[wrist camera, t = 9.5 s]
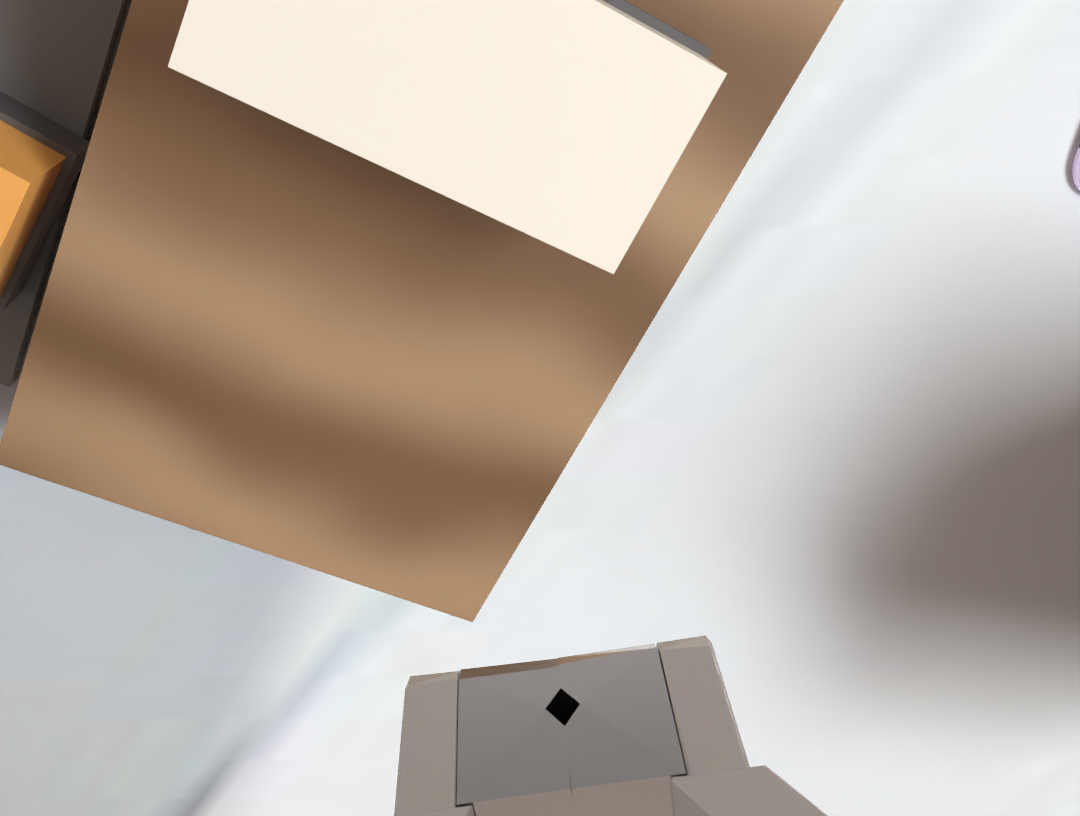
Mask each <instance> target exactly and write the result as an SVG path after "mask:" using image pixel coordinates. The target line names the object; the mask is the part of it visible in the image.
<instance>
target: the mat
mask: <svg viewBox="0 0 1080 816" xmlns="http://www.w3.org/2000/svg"><path fill="white" fill-rule="evenodd" d="M126 1H127V0H0V91H1V92H3V93H5V94H7V95H8V96H10V97H12V98H14V99H15V100H17V101H19V102H21V103H22V104H24V105H26V106H28V107H29V108H31V109H33V110H35V111H36V112H38V113H40V114H42V115H43V116H45V117H47V118H49V119H50V120H52V121H54V122H56V123H57V124H59V125H61V126H63V127H64V128H66V129H68V130H70V131H71V132H73V133H75V134H77V135H78V136H80V137H82V138H84V139H85V140H86V137H87V134H88V130H89V127H90V123H91V120H92V117H93V113H94V110H95V107H96V103H97V100H98V96H99V93H100V90H101V86H102V83H103V79H104V76H105V73H106V69H107V66H108V62H109V59H110V56H111V52H112V49H113V45H114V42H115V39H116V35H117V32H118V29H119V25H120V22H121V18H122V15H123V12H124V8H125V5H126ZM70 191H71V190H70ZM69 195H70V192H69V194H68V196H67V198H66V200H65V202H64V204H63V206H62V209H61V211H60V213H59V215H58V217H57V219H56V221H55V223H54V225H53V227H52V229H51V232H50V234H49V236H48V238H47V240H46V242H45V244H44V246H43V248H42V250H41V252H40V254H39V257H38V259H37V261H36V263H35V265H34V267H33V269H32V271H31V273H30V275H29V277H28V279H27V282H26V284H25V286H24V288H23V290H22V292H21V293H20V294H19V295H18V296H17V297H16V298H15V299H14V300H13V301H12V302H11V303H10V304H9V305H8V306H7V307H6V308H5V309H2V308H0V384H3V385H5V386H8V387H10V385H11V384H12V383H13V382H14V381H15V378H16V374H17V371H18V368H19V364H20V361H21V357H22V354H23V351H24V347H25V344H26V340H27V337H28V334H29V330H30V327H31V324H32V320H33V317H34V313H35V310H36V307H37V303H38V300H39V296H40V293H41V290H42V286H43V283H44V279H45V276H46V273H47V269H48V266H49V262H50V259H51V256H52V252H53V249H54V246H55V242H56V239H57V235H58V232H59V229H60V225H61V222H62V218H63V215H64V212H65V208H66V205H67V201H68V198H69Z"/></svg>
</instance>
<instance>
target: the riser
mask: <svg viewBox="0 0 1080 816" xmlns="http://www.w3.org/2000/svg"><path fill="white" fill-rule="evenodd" d="M626 1H628V2H629V3H631V4H633V5H635V6H636V7H638V8H640V9H642V10H644V11H645V12H647V13H649V14H651V15H653V16H654V17H656V18H658V19H660V20H662V21H663V22H665V23H667V24H669V25H670V26H672V27H674V28H676V29H678V30H679V31H681V32H683V33H685V34H687V35H688V36H690V37H692V38H694V39H695V40H697V41H699V42H701V43H702V44H704V45H705V46H707V47H708V48H710V49H711V50H712V51H711V53H710V55H709V56H708V58H707V60H708V61H710V62H711V63H713V64H714V65H716V66H717V67H719V68H720V69H721V70H723V71H724V72H726V73H727V75H726V77H725V78H724V80H723V82H722V84H721V86H720V87H719V89H718V91H717V93H716V94H715V96H714V98H713V100H712V101H711V103H710V105H709V107H708V108H707V110H706V112H705V114H704V116H703V117H702V119H701V121H700V123H699V124H698V126H697V128H696V130H695V131H694V133H693V135H692V137H691V139H690V140H689V142H688V144H687V146H686V147H685V149H684V151H683V153H682V154H681V156H680V158H679V160H678V162H677V163H676V165H675V167H674V169H673V170H672V172H671V174H670V176H669V177H668V179H667V181H666V183H665V185H664V186H663V188H662V190H661V192H660V193H659V195H658V197H657V199H656V200H655V202H654V204H653V206H652V208H651V209H650V211H649V213H648V215H647V216H646V218H645V220H644V222H643V223H642V225H641V227H640V229H639V231H638V232H637V234H636V236H635V238H634V239H633V241H632V243H631V245H630V246H629V248H628V250H627V252H626V253H625V255H624V257H623V259H622V261H621V262H620V264H619V266H618V268H617V269H616V271H615V273H614V274H612V273H610V272H607V271H605V270H603V269H601V268H599V267H597V266H595V265H592V264H590V263H588V262H586V261H584V260H582V259H580V258H577V257H575V256H573V255H571V254H569V253H567V252H564V251H562V250H560V249H558V248H556V247H554V246H552V245H549V244H547V243H545V242H543V241H541V240H539V239H537V238H534V237H532V236H530V235H528V234H526V233H524V232H522V231H519V230H517V229H515V228H513V227H511V226H509V225H506V224H504V223H502V222H500V221H498V220H496V219H494V218H491V217H489V216H487V215H485V214H483V213H481V212H479V211H476V210H474V209H472V208H470V207H468V206H466V205H464V204H461V203H459V202H457V201H455V200H453V199H451V198H448V197H446V196H444V195H442V194H440V193H438V192H436V191H433V190H431V189H429V188H427V187H425V186H423V185H421V184H418V183H416V182H414V181H412V180H410V179H408V178H406V177H403V176H401V175H399V174H397V173H395V172H393V171H390V170H388V169H386V168H384V167H382V166H380V165H378V164H375V163H373V162H371V161H369V160H367V159H365V158H363V157H360V156H358V155H356V154H354V153H352V152H350V151H347V150H345V149H343V148H341V147H339V146H337V145H335V144H332V143H330V142H328V141H326V140H324V139H322V138H320V137H317V136H315V135H313V134H311V133H309V132H307V131H305V130H302V129H300V128H298V127H296V126H294V125H292V124H289V123H287V122H285V121H283V120H281V119H279V118H277V117H274V116H272V115H270V114H268V113H266V112H264V111H262V110H259V109H257V108H255V107H253V106H251V105H249V104H247V103H244V102H242V101H240V100H238V99H236V98H234V97H231V96H229V95H227V94H225V93H223V92H221V91H219V90H216V89H214V88H212V87H210V86H208V85H206V84H204V83H201V82H199V81H197V80H195V79H193V78H191V77H189V76H186V75H184V74H182V73H180V72H178V71H176V70H173V69H171V68H169V67H168V64H169V61H170V58H171V55H172V52H173V49H174V45H175V42H176V39H177V36H178V33H179V30H180V27H181V24H182V21H183V17H184V14H185V11H186V8H187V5H188V2H189V0H132V2H131V5H130V8H129V12H128V15H127V19H126V22H125V25H124V29H123V32H122V35H121V39H120V42H119V45H118V49H117V52H116V56H115V59H114V62H113V66H112V69H111V72H110V76H109V79H108V82H107V86H106V89H105V93H104V96H103V99H102V103H101V106H100V109H99V113H98V116H97V120H96V123H95V126H94V130H93V133H92V136H91V140H90V143H89V146H88V150H87V153H86V157H85V160H84V163H83V167H82V170H81V173H80V177H79V180H78V183H77V187H76V190H75V194H74V197H73V200H72V204H71V207H70V210H69V214H68V217H67V220H66V224H65V227H64V231H63V234H62V237H61V241H60V244H59V247H58V251H57V254H56V258H55V261H54V264H53V268H52V271H51V274H50V278H49V281H48V284H47V288H46V291H45V295H44V298H43V301H42V305H41V308H40V311H39V315H38V318H37V321H36V325H35V328H34V332H33V335H32V338H31V342H30V345H29V348H28V352H27V355H26V358H25V362H24V365H23V369H22V372H21V375H20V379H19V382H18V385H17V389H16V392H15V396H14V399H13V402H12V406H11V409H10V412H9V416H8V419H7V422H6V426H5V429H4V433H3V436H2V439H1V443H0V465H3V466H6V467H9V468H12V469H15V470H18V471H21V472H24V473H27V474H30V475H33V476H36V477H39V478H42V479H45V480H48V481H51V482H54V483H57V484H60V485H63V486H66V487H69V488H72V489H75V490H78V491H81V492H84V493H87V494H90V495H93V496H96V497H99V498H102V499H105V500H108V501H111V502H114V503H117V504H120V505H123V506H126V507H129V508H132V509H135V510H138V511H141V512H144V513H147V514H150V515H153V516H156V517H159V518H162V519H165V520H168V521H171V522H174V523H177V524H180V525H183V526H186V527H189V528H192V529H195V530H198V531H201V532H204V533H207V534H210V535H213V536H216V537H219V538H222V539H225V540H228V541H231V542H234V543H237V544H240V545H243V546H246V547H249V548H252V549H255V550H258V551H261V552H264V553H267V554H270V555H273V556H276V557H279V558H282V559H285V560H288V561H291V562H294V563H297V564H300V565H303V566H306V567H309V568H312V569H315V570H318V571H321V572H324V573H327V574H330V575H333V576H336V577H339V578H342V579H345V580H348V581H351V582H354V583H357V584H360V585H363V586H366V587H369V588H372V589H375V590H378V591H381V592H384V593H387V594H390V595H393V596H396V597H399V598H402V599H405V600H408V601H411V602H414V603H417V604H420V605H423V606H426V607H429V608H432V609H435V610H438V611H441V612H444V613H447V614H450V615H453V616H456V617H459V618H462V619H465V620H468V621H471V622H473V620H474V619H475V617H476V615H477V614H478V612H479V610H480V609H481V607H482V605H483V604H484V602H485V600H486V599H487V597H488V595H489V593H490V592H491V590H492V588H493V587H494V585H495V583H496V582H497V580H498V578H499V577H500V575H501V573H502V572H503V570H504V568H505V567H506V565H507V563H508V562H509V560H510V558H511V557H512V555H513V553H514V552H515V550H516V548H517V547H518V545H519V543H520V542H521V540H522V538H523V537H524V535H525V533H526V532H527V530H528V528H529V526H530V525H531V523H532V521H533V520H534V518H535V516H536V515H537V513H538V511H539V510H540V508H541V506H542V505H543V503H544V501H545V500H546V498H547V496H548V495H549V493H550V491H551V490H552V488H553V486H554V485H555V483H556V481H557V480H558V478H559V476H560V475H561V473H562V471H563V470H564V468H565V466H566V465H567V463H568V461H569V460H570V458H571V456H572V454H573V453H574V451H575V449H576V448H577V446H578V444H579V443H580V441H581V439H582V438H583V436H584V434H585V433H586V431H587V429H588V428H589V426H590V424H591V423H592V421H593V419H594V418H595V416H596V414H597V413H598V411H599V409H600V408H601V406H602V404H603V403H604V401H605V399H606V398H607V396H608V394H609V393H610V391H611V389H612V388H613V386H614V384H615V382H616V381H617V379H618V377H619V376H620V374H621V372H622V371H623V369H624V367H625V366H626V364H627V362H628V361H629V359H630V357H631V356H632V354H633V352H634V351H635V349H636V347H637V346H638V344H639V342H640V341H641V339H642V337H643V336H644V334H645V332H646V331H647V329H648V327H649V326H650V324H651V322H652V321H653V319H654V317H655V315H656V314H657V312H658V310H659V309H660V307H661V305H662V304H663V302H664V300H665V299H666V297H667V295H668V294H669V292H670V290H671V289H672V287H673V285H674V284H675V282H676V280H677V279H678V277H679V275H680V274H681V272H682V270H683V269H684V267H685V265H686V264H687V262H688V260H689V259H690V257H691V255H692V254H693V252H694V250H695V249H696V247H697V245H698V243H699V242H700V240H701V238H702V237H703V235H704V233H705V232H706V230H707V228H708V227H709V225H710V223H711V222H712V220H713V218H714V217H715V215H716V213H717V212H718V210H719V208H720V207H721V205H722V203H723V202H724V200H725V198H726V197H727V195H728V193H729V192H730V190H731V188H732V187H733V185H734V183H735V182H736V180H737V178H738V177H739V175H740V173H741V171H742V170H743V168H744V166H745V165H746V163H747V161H748V160H749V158H750V156H751V155H752V153H753V151H754V150H755V148H756V146H757V145H758V143H759V141H760V140H761V138H762V136H763V135H764V133H765V131H766V130H767V128H768V126H769V125H770V123H771V121H772V120H773V118H774V116H775V115H776V113H777V111H778V110H779V108H780V106H781V104H782V103H783V101H784V99H785V98H786V96H787V94H788V93H789V91H790V89H791V88H792V86H793V84H794V83H795V81H796V79H797V78H798V76H799V74H800V73H801V71H802V69H803V68H804V66H805V64H806V63H807V61H808V59H809V58H810V56H811V54H812V53H813V51H814V49H815V48H816V46H817V44H818V43H819V41H820V39H821V38H822V36H823V34H824V32H825V31H826V29H827V27H828V26H829V24H830V22H831V21H832V19H833V17H834V16H835V14H836V12H837V11H838V9H839V7H840V6H841V4H842V2H843V1H844V0H626Z"/></svg>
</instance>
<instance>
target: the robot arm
mask: <svg viewBox="0 0 1080 816" xmlns="http://www.w3.org/2000/svg"><path fill="white" fill-rule="evenodd" d="M394 816H827V815H826V814H825V813H823V812H822V811H821V810H820V809H819V808H817V807H816V806H815V805H814V804H812V803H811V802H810V801H809V800H807V799H806V798H805V797H804V796H803V795H801V794H800V793H799V792H798V791H796V790H795V789H794V788H793V787H791V786H790V785H789V784H788V783H786V782H785V781H784V780H783V779H782V778H780V777H779V776H778V775H777V774H775V773H774V772H773V771H772V770H770V769H769V768H768V767H767V766H756V767H749V763H748V760H747V757H746V754H745V750H744V747H743V744H742V741H741V737H740V734H739V731H738V728H737V724H736V721H735V718H734V715H733V711H732V708H731V705H730V701H729V698H728V695H727V692H726V688H725V685H724V682H723V679H722V675H721V672H720V669H719V666H718V662H717V659H716V656H715V653H714V649H713V646H712V643H711V641H710V640H709V639H708V638H707V637H706V636H700V637H694V638H687V639H681V640H674V641H667V642H661V643H657V645H655V644H650V645H643V646H636V647H629V648H623V649H616V650H609V651H602V652H595V653H589V654H582V655H575V656H568V657H562V658H558V659H550V660H542V661H533V662H524V663H515V664H506V665H498V666H489V667H480V668H471V669H462V670H461V671H456V672H447V673H438V674H428V675H419V676H410V679H409V681H408V684H407V686H406V689H405V699H404V710H403V721H402V733H401V744H400V756H399V767H398V779H397V790H396V802H395V813H394Z"/></svg>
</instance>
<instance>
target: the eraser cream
mask: <svg viewBox="0 0 1080 816" xmlns="http://www.w3.org/2000/svg"><path fill="white" fill-rule="evenodd" d="M711 51H712V50H711V49H710V48H708V47H707V46H705V45H704V44H702V43H701V42H699V41H697V40H695V39H694V38H692V37H690V36H688V35H687V34H685V33H683V32H681V31H679V30H678V29H676V28H674V27H672V26H670V25H669V24H667V23H665V22H663V21H662V20H660V19H658V18H656V17H654V16H653V15H651V14H649V13H647V12H645V11H644V10H642V9H640V8H638V7H636V6H635V5H633V4H631V3H629V2H628V1H626V0H189V2H188V5H187V8H186V11H185V14H184V17H183V21H182V24H181V27H180V30H179V33H178V36H177V39H176V42H175V45H174V49H173V52H172V55H171V58H170V61H169V64H168V67H169V68H171V69H173V70H176V71H178V72H180V73H182V74H184V75H186V76H189V77H191V78H193V79H195V80H197V81H199V82H201V83H204V84H206V85H208V86H210V87H212V88H214V89H216V90H219V91H221V92H223V93H225V94H227V95H229V96H231V97H234V98H236V99H238V100H240V101H242V102H244V103H247V104H249V105H251V106H253V107H255V108H257V109H259V110H262V111H264V112H266V113H268V114H270V115H272V116H274V117H277V118H279V119H281V120H283V121H285V122H287V123H289V124H292V125H294V126H296V127H298V128H300V129H302V130H305V131H307V132H309V133H311V134H313V135H315V136H317V137H320V138H322V139H324V140H326V141H328V142H330V143H332V144H335V145H337V146H339V147H341V148H343V149H345V150H347V151H350V152H352V153H354V154H356V155H358V156H360V157H363V158H365V159H367V160H369V161H371V162H373V163H375V164H378V165H380V166H382V167H384V168H386V169H388V170H390V171H393V172H395V173H397V174H399V175H401V176H403V177H406V178H408V179H410V180H412V181H414V182H416V183H418V184H421V185H423V186H425V187H427V188H429V189H431V190H433V191H436V192H438V193H440V194H442V195H444V196H446V197H448V198H451V199H453V200H455V201H457V202H459V203H461V204H464V205H466V206H468V207H470V208H472V209H474V210H476V211H479V212H481V213H483V214H485V215H487V216H489V217H491V218H494V219H496V220H498V221H500V222H502V223H504V224H506V225H509V226H511V227H513V228H515V229H517V230H519V231H522V232H524V233H526V234H528V235H530V236H532V237H534V238H537V239H539V240H541V241H543V242H545V243H547V244H549V245H552V246H554V247H556V248H558V249H560V250H562V251H564V252H567V253H569V254H571V255H573V256H575V257H577V258H580V259H582V260H584V261H586V262H588V263H590V264H592V265H595V266H597V267H599V268H601V269H603V270H605V271H607V272H610V273H612V274H614V273H615V271H616V269H617V268H618V266H619V264H620V262H621V261H622V259H623V257H624V255H625V253H626V252H627V250H628V248H629V246H630V245H631V243H632V241H633V239H634V238H635V236H636V234H637V232H638V231H639V229H640V227H641V225H642V223H643V222H644V220H645V218H646V216H647V215H648V213H649V211H650V209H651V208H652V206H653V204H654V202H655V200H656V199H657V197H658V195H659V193H660V192H661V190H662V188H663V186H664V185H665V183H666V181H667V179H668V177H669V176H670V174H671V172H672V170H673V169H674V167H675V165H676V163H677V162H678V160H679V158H680V156H681V154H682V153H683V151H684V149H685V147H686V146H687V144H688V142H689V140H690V139H691V137H692V135H693V133H694V131H695V130H696V128H697V126H698V124H699V123H700V121H701V119H702V117H703V116H704V114H705V112H706V110H707V108H708V107H709V105H710V103H711V101H712V100H713V98H714V96H715V94H716V93H717V91H718V89H719V87H720V86H721V84H722V82H723V80H724V78H725V77H726V75H727V73H726V72H724V71H723V70H721V69H720V68H719V67H717V66H716V65H714V64H713V63H711V62H710V61H708V60H707V58H708V56H709V55H710V53H711Z"/></svg>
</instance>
